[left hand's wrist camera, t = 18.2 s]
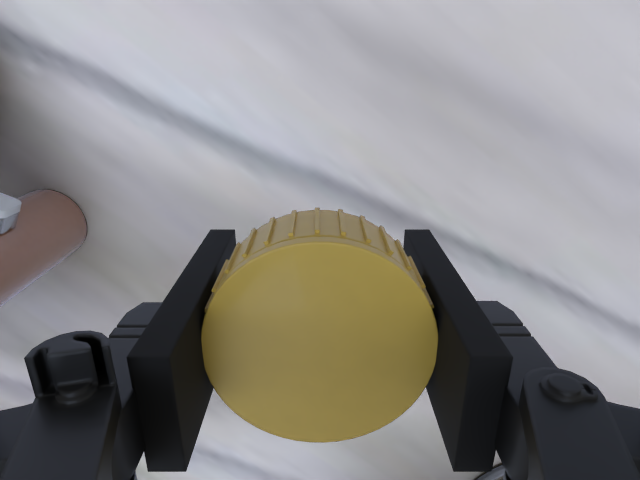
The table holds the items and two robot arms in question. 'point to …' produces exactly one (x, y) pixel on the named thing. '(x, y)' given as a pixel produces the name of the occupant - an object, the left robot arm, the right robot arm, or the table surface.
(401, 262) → the lid
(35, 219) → the jar
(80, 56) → the table surface
